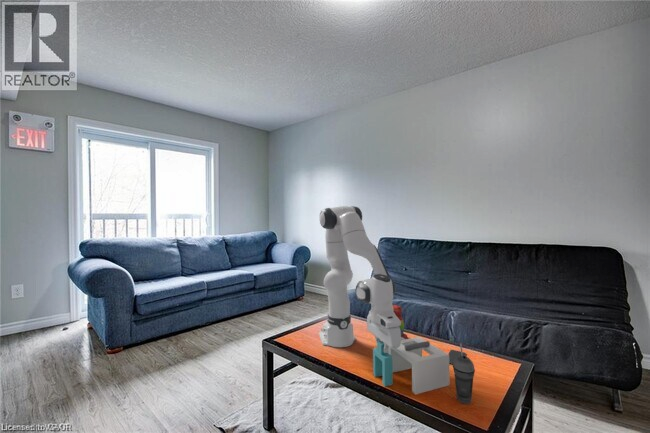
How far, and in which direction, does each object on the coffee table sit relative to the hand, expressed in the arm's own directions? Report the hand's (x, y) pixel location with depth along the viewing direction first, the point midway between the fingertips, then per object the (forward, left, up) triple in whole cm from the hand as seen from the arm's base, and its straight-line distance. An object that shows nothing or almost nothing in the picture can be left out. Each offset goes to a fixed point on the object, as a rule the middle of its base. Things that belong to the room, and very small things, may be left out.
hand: (382, 349), depth 119 cm
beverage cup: (+22, +20, -12) cm, 32 cm away
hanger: (0, 0, -12) cm, 12 cm away
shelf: (+4, +14, -12) cm, 19 cm away
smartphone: (-3, +41, -13) cm, 43 cm away
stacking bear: (-32, +28, -12) cm, 44 cm away
